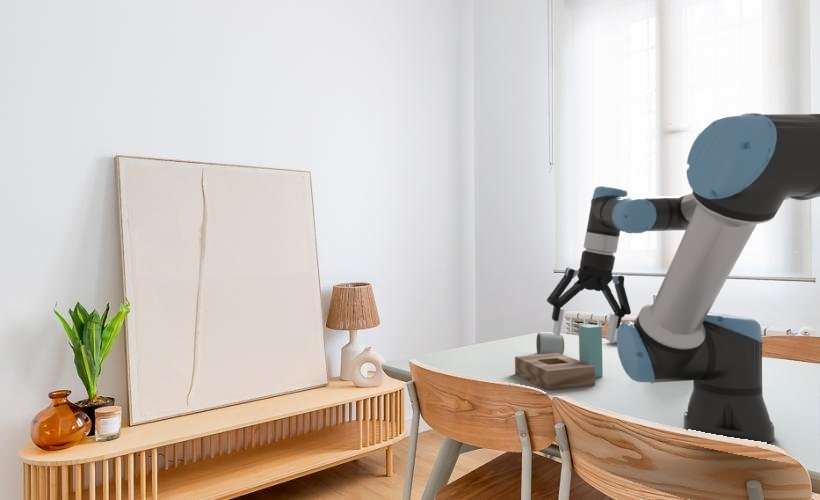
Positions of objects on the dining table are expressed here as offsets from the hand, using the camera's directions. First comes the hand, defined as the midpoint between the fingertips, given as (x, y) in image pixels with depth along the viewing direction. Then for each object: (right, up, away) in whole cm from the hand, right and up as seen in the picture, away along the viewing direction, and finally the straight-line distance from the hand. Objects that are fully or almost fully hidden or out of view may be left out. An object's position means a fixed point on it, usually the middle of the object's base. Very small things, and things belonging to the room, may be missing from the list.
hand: (582, 337), depth 127 cm
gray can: (+4, -14, +48) cm, 50 cm away
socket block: (-3, -14, +17) cm, 22 cm away
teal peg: (+9, -14, +20) cm, 26 cm away
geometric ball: (+35, -13, +65) cm, 75 cm away
